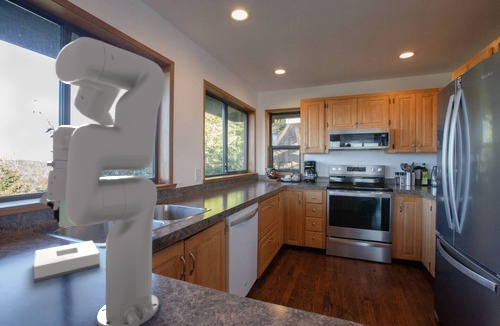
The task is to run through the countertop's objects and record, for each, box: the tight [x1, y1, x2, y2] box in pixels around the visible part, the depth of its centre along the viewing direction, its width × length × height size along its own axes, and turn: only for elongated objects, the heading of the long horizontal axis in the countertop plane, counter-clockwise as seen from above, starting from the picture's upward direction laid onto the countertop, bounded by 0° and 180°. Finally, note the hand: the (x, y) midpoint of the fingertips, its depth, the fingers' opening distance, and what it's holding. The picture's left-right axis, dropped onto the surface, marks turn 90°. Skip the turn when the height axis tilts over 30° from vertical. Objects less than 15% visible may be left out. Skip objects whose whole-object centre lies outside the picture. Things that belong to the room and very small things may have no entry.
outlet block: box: [33, 240, 101, 283], centre depth 79 cm, size 16×16×4 cm
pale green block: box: [58, 201, 76, 228], centre depth 79 cm, size 4×4×10 cm
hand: (66, 219), depth 79 cm, fingers closed on pale green block, 4 cm apart
